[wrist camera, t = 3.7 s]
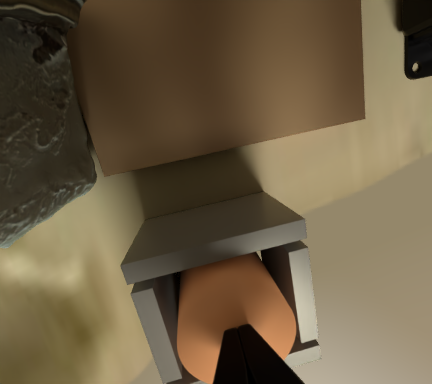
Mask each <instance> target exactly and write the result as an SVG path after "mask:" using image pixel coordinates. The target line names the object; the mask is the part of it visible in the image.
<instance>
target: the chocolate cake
mask: <svg viewBox="0 0 432 384" xmlns="http://www.w3.org/2000/svg"><path fill="white" fill-rule="evenodd" d="M86 1H87V0H0V248H8V247H10V246H11V245H12V244H13V242H15V241H16V240H17V239H19V238H21V237H22V236H23V235H24V234H26V233H27V232H28V231H29V230H31V229H32V228H33V227H35V226H36V225H38V224H40V223H42V222H44V221H46V220H48V219H49V218H51V217H52V216H53V215H54V214H55V213H56V212H57V211H58V210H60V209H61V208H62V207H63V206H64V205H66V204H67V203H70V202H71V201H73V200H74V199H76V198H78V197H81V196H83V195H85V194H86V193H87V192H88V191H89V190H90V189H91V188H92V187H93V186H94V184H95V182H96V179H97V174H96V171H95V165H94V161H93V159H92V156H91V154H90V151H89V149H88V147H87V132H86V128H85V125H84V122H83V119H82V113H81V110H80V107H79V104H78V100H77V96H76V92H75V86H74V78H73V74H72V68H71V63H70V59H69V55H68V51H67V49H68V46H67V33H68V30H69V29H73V28H76V27H77V25H78V23H79V17H80V11H81V8H82V6H83V4H84V3H85V2H86Z"/></svg>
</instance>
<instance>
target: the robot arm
mask: <svg viewBox="0 0 432 384" xmlns="http://www.w3.org/2000/svg"><path fill="white" fill-rule="evenodd" d="M403 35H405V67H404V71H405V75H406V77H407V78H408V79H410V80H414V79H419V78H424V77H428V76H432V0H403ZM414 63H417V64H418V66H419V69H418V71H417V73H414V72H413V69H412V68H413V65H414ZM213 384H305V383H304V382H303V381H302V380H301V379H300V378H299V377H298V376H297V375H296V374H295V372H294V371H293V370H292V369H291V368H290V367H289V366H288V365H287V364H286V363H285V361H284V360H283V359H282V358H281V357H280V356H279V355H278V354H277V353H276V352H275V350H274V349H273V348H272V347H271V346H270V345H269V344H268V343H267V342H266V341H265V340H264V338H263V337H262V336H261V335H260V334H259V333H258V332H257V331H256V330H255V329H254V327H253V326H252V325H251V324H245V325H241V326H238V330H237V328H236V327H234V328H230V329H227V330H225V331H224V333H223V338H222V342H221V347H220V352H219V356H218V361H217V365H216V370H215V375H214V379H213Z"/></svg>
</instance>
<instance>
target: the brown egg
mask: <svg viewBox="0 0 432 384" xmlns="http://www.w3.org/2000/svg"><path fill="white" fill-rule="evenodd" d="M245 324H251V325H252V326H253V327H254V329H255V330H256V331H257V332H258V333H259V334H260V335H261V336H262V337H263V338H264V340H265V341H266V342H267V343H268V344H269V345H270V346H271V347H272V348H273V349H274V350H275V352H276V353H277V354H278V355H279V356H280V357H281V358H282V359H283V360H285V358H286V357H287V355H288V354H289V352H290V350H291V348H292V346H293V343H294V340H295V336H296V321H295V316H294V314H293V311H292V309H291V308H290V306H289V305H288V303H287V301H286V300H285V298H284V296H283V295H282V293H281V292H280V290H279V288H278V287H277V285H276V283H275V282H274V280H273V278H272V277H271V275H270V274H269V272H268V270H267V269H266V267H265V265H264V264H263V262H262V261H261V259H260V257H259V256H258V254H257V253H256V252H252V253H248V254H244V255H240V256H237V257H233V258H229V259H225V260H221V261H217V262H213V263H210V264H206V265H202V266H198V267H194V268H190V269H186V270H183V271H181V275H180V294H179V312H178V331H177V351H178V355H179V358H180V360H181V362H182V364H183V365H184V367H185V368H186V369H187V371H188V372H189V373H190V374H192V375H193V376H194V377H196V378H197V379H199V380H201V381H203V382H205V383H208V384H213V379H214V375H215V370H216V365H217V361H218V356H219V352H220V347H221V342H222V338H223V333H224V331H225V330H227V329H230V328H234V327H236V328H237V330H238V326H241V325H245Z"/></svg>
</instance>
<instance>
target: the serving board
mask: <svg viewBox="0 0 432 384" xmlns="http://www.w3.org/2000/svg"><path fill="white" fill-rule="evenodd" d="M67 46H68V49H67V51H68V55H69V59H70V63H71V68H72V74H73V78H74V86H75V92H76V95H77V98H78V101H79V104H80V107H81V110H82V113H83V116H84V118H85V121H86V124H87V127H88V130H89V133H90V136H91V139H92V142H93V145H94V148H95V151H96V154H97V156H98V159H99V162H100V165H101V168H102V171H103V174H104V177H106V176H110V175H115V174H119V173H124V172H128V171H133V170H137V169H142V168H146V167H151V166H155V165H160V164H164V163H169V162H173V161H178V160H182V159H187V158H191V157H196V156H200V155H205V154H209V153H214V152H218V151H223V150H227V149H232V148H236V147H241V146H245V145H249V144H254V143H258V142H263V141H267V140H272V139H276V138H281V137H285V136H290V135H294V134H299V133H303V132H308V131H312V130H317V129H321V128H326V127H330V126H335V125H339V124H344V123H348V122H353V121H357V120H362V119H365V101H364V74H363V48H362V21H361V0H87V1H86V2H85V3H84V4H83V6H82V8H81V11H80V17H79V23H78V25H77V27H76V28H73V29H69V30H68V33H67Z"/></svg>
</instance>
